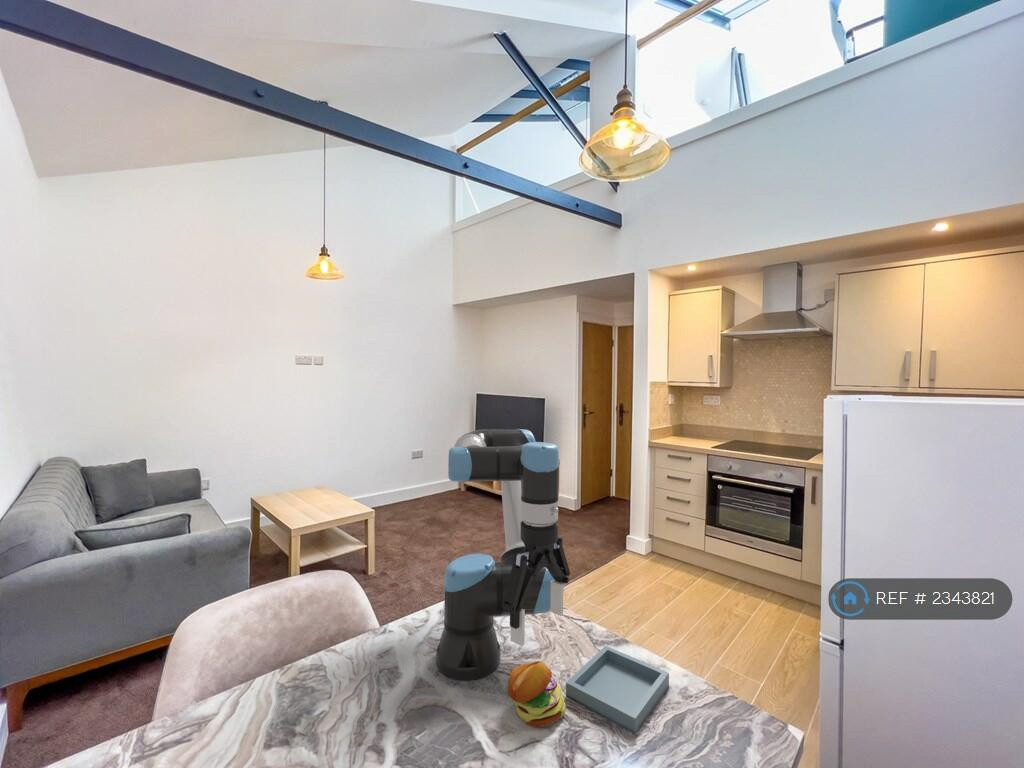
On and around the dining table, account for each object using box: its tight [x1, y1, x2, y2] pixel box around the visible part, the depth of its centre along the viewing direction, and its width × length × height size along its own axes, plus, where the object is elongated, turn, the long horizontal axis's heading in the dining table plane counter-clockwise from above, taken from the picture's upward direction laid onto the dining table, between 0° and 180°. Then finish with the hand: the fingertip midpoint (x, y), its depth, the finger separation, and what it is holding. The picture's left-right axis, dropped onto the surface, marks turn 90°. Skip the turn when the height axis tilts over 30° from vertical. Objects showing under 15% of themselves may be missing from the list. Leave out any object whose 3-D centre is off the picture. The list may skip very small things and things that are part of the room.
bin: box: [565, 645, 670, 736], centre depth 92 cm, size 15×17×3 cm
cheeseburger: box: [507, 660, 566, 728], centre depth 87 cm, size 10×11×10 cm
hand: (538, 627), depth 87 cm, fingers open, 13 cm apart
